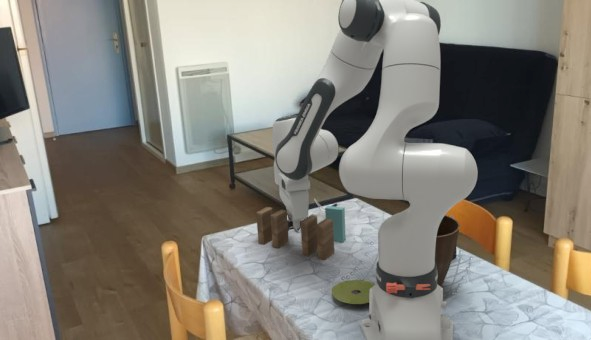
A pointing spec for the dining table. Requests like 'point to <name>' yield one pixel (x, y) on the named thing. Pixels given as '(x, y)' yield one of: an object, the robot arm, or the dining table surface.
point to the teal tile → (337, 222)
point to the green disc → (353, 291)
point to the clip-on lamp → (320, 215)
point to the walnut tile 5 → (325, 239)
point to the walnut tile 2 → (279, 228)
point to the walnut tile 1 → (264, 225)
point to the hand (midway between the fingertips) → (294, 224)
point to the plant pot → (445, 246)
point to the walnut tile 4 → (309, 235)
